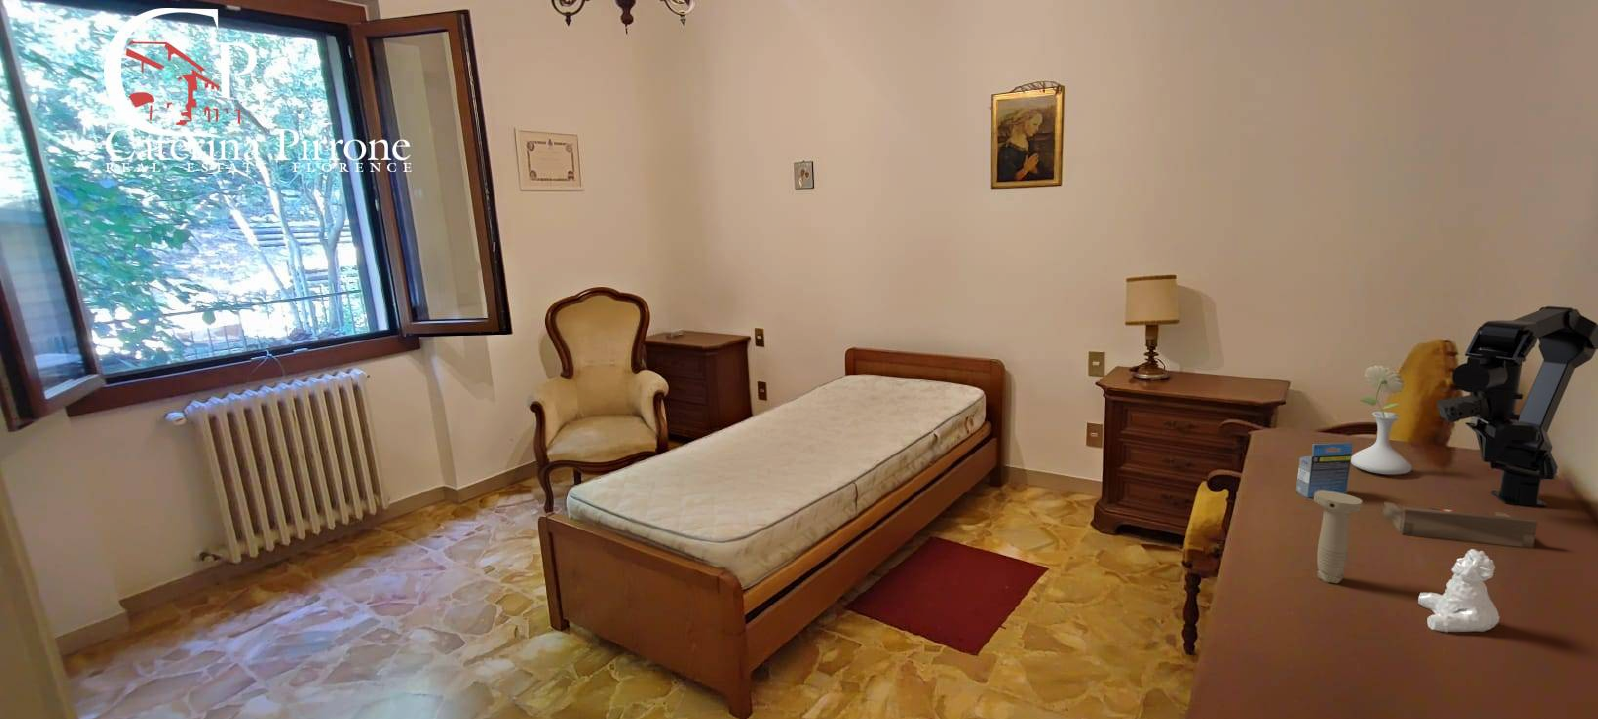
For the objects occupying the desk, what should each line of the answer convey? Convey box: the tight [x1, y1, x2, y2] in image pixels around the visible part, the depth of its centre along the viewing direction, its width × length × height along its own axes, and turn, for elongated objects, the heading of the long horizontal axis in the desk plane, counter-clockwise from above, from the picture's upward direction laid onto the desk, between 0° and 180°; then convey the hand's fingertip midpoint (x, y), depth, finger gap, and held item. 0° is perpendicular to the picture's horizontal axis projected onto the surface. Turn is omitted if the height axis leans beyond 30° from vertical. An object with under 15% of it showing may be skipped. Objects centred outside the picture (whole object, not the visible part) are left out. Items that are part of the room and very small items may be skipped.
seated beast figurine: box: [1417, 548, 1501, 634], centre depth 106 cm, size 10×9×12 cm
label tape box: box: [1295, 442, 1353, 499], centre depth 155 cm, size 9×4×12 cm, turn 92°
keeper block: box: [1382, 501, 1538, 549], centre depth 136 cm, size 10×19×5 cm, turn 67°
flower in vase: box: [1351, 365, 1412, 476], centre depth 166 cm, size 13×11×25 cm
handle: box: [1313, 490, 1363, 584], centre depth 119 cm, size 5×6×15 cm
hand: (1486, 461), depth 141 cm, fingers closed
